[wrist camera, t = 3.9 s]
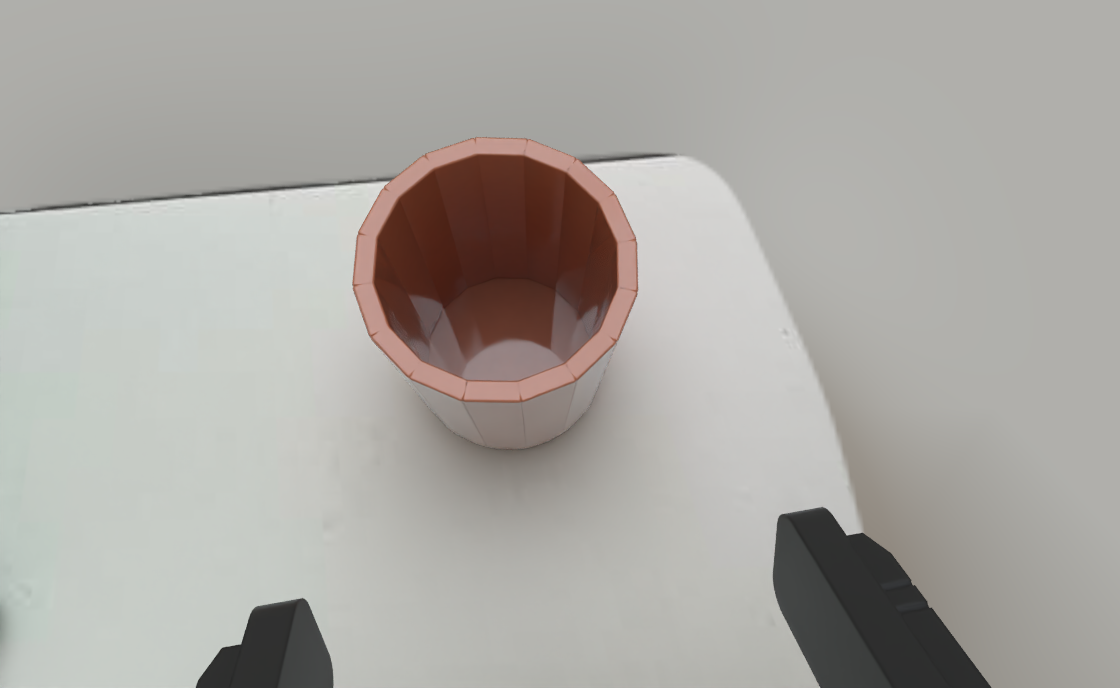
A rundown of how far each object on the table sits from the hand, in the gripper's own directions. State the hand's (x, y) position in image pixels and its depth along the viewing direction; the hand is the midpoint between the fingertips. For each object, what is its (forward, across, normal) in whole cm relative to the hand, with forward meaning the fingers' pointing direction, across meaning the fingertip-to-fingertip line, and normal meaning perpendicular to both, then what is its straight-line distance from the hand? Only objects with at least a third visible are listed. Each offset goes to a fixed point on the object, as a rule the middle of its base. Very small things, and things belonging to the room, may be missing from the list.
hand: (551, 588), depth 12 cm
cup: (+13, 0, +3) cm, 14 cm away
